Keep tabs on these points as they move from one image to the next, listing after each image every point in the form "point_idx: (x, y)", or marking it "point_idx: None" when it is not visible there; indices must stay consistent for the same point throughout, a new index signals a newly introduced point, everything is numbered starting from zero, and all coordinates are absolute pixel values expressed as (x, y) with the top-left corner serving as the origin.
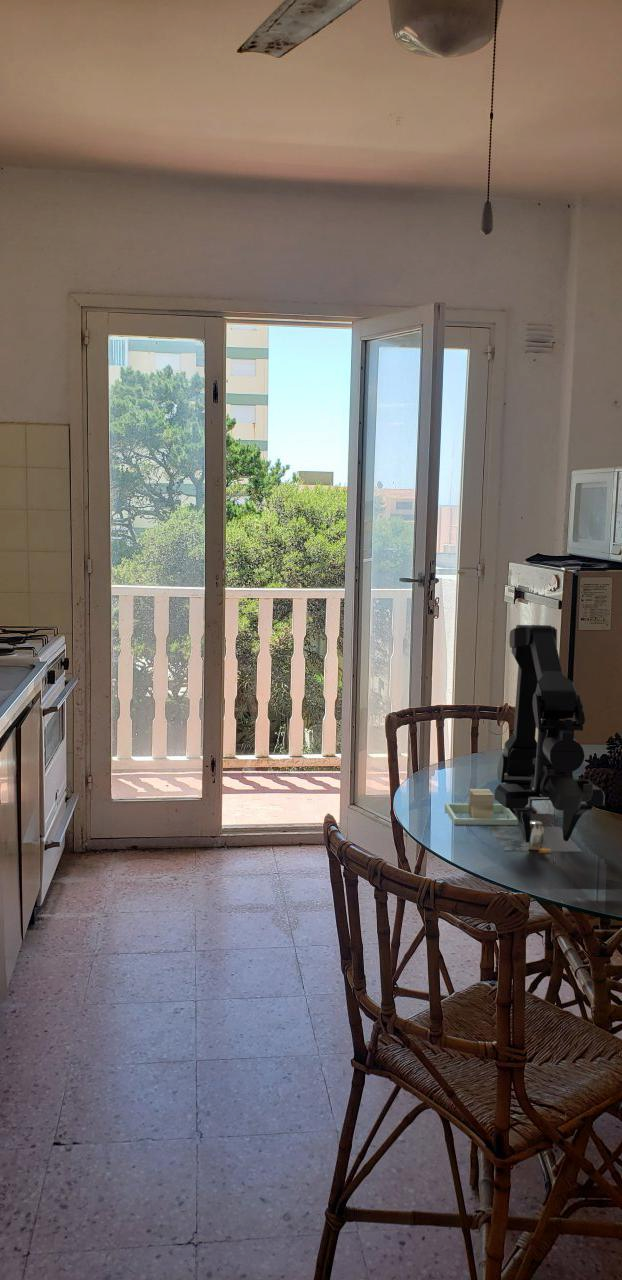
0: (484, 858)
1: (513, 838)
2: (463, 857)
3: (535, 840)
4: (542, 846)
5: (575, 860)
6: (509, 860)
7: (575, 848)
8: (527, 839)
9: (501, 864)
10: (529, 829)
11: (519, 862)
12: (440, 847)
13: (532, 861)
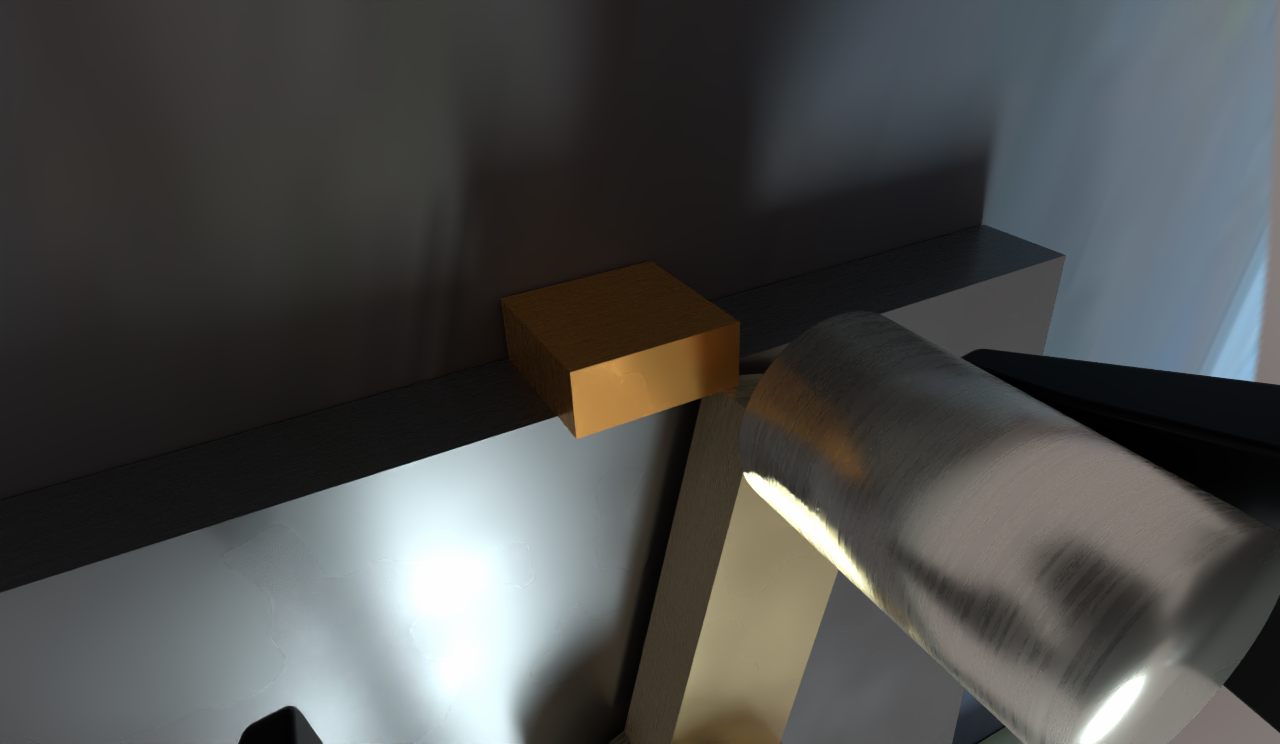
0: (1119, 209)
1: (847, 674)
2: (1236, 196)
3: (928, 356)
4: (614, 574)
5: (48, 452)
6: (950, 203)
7: (54, 722)
8: (1019, 363)
9: (1066, 46)
10: (1220, 422)
11: (879, 155)
12: (1246, 380)
13: (729, 228)
